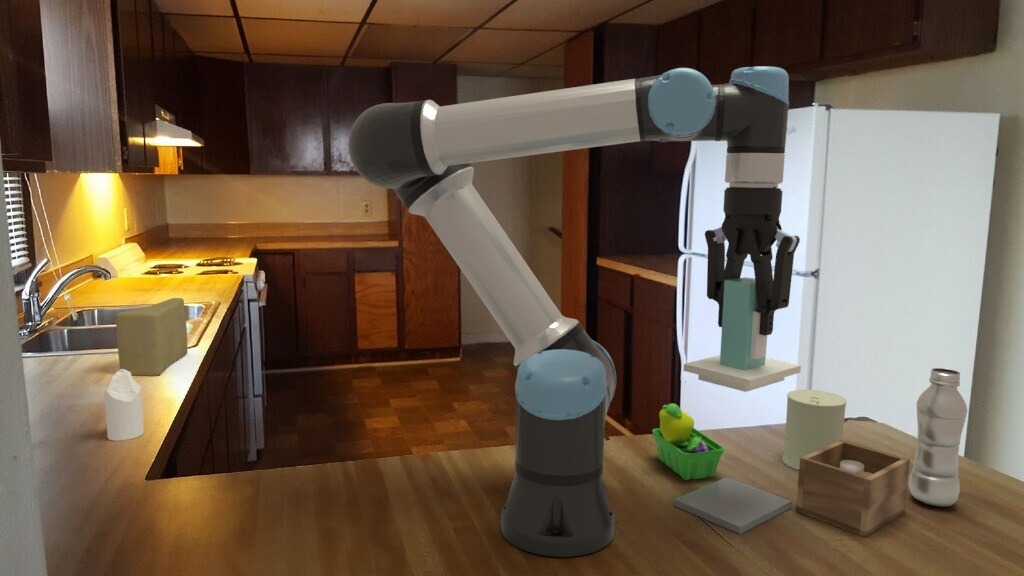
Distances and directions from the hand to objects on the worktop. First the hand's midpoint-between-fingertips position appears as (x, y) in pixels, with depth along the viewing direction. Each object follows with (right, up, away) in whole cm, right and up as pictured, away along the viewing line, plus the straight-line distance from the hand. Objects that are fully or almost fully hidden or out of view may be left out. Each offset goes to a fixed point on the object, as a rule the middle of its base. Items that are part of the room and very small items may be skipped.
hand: (743, 353), depth 105 cm
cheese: (-118, -10, +78) cm, 141 cm away
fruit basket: (-5, -21, +17) cm, 27 cm away
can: (+18, -20, +20) cm, 34 cm away
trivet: (0, -22, +3) cm, 23 cm away
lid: (0, -4, +1) cm, 4 cm away
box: (+16, -23, +2) cm, 28 cm away
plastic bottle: (+30, -23, +6) cm, 38 cm away
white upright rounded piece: (-101, -17, +29) cm, 107 cm away
